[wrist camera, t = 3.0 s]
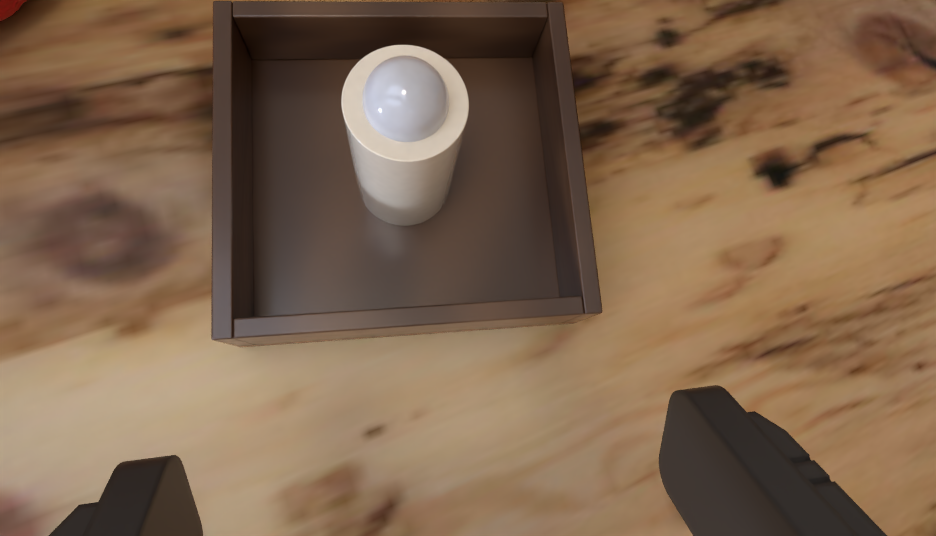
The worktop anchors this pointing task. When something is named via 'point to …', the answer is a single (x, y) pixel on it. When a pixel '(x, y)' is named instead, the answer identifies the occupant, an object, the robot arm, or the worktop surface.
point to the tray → (336, 191)
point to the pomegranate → (9, 7)
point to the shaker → (404, 130)
